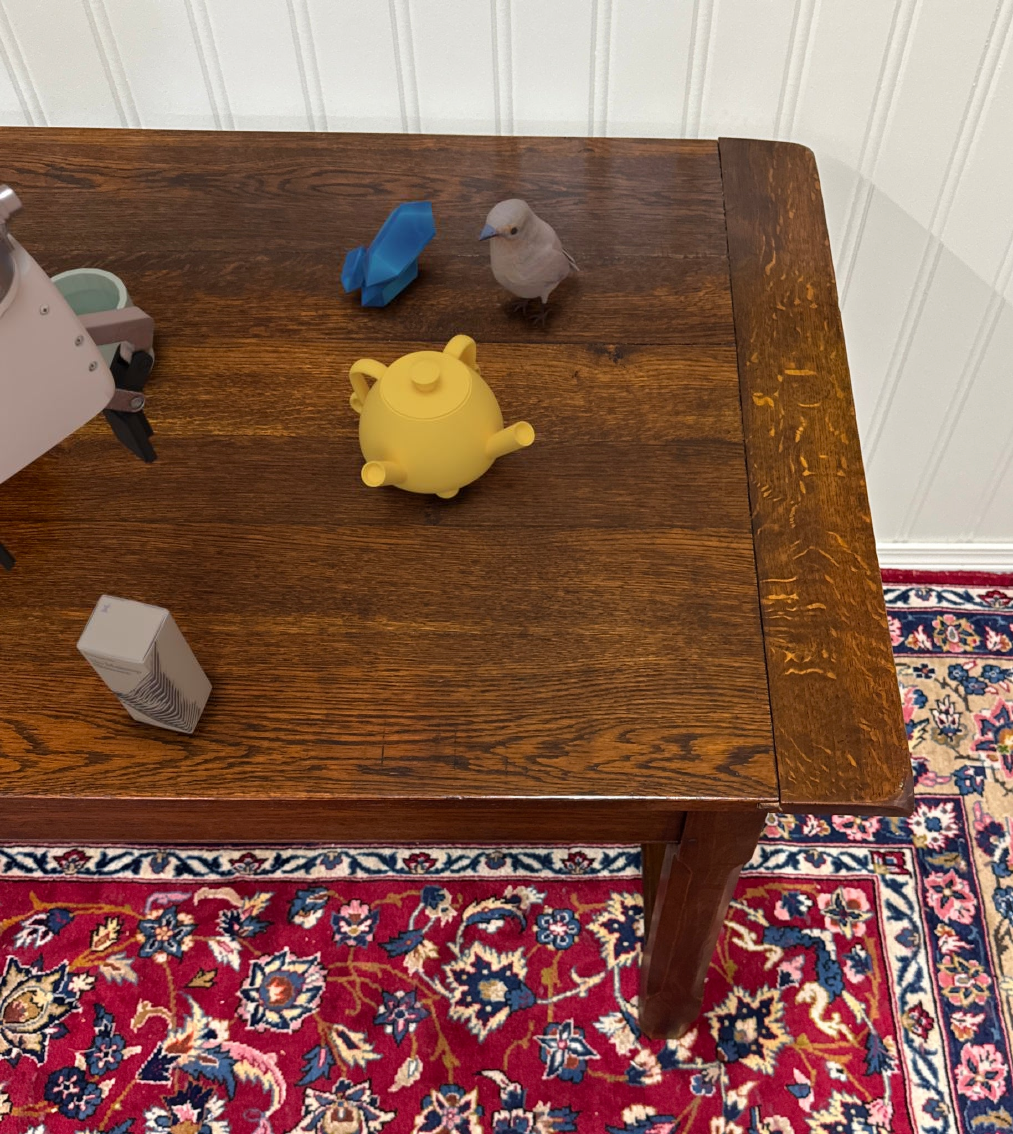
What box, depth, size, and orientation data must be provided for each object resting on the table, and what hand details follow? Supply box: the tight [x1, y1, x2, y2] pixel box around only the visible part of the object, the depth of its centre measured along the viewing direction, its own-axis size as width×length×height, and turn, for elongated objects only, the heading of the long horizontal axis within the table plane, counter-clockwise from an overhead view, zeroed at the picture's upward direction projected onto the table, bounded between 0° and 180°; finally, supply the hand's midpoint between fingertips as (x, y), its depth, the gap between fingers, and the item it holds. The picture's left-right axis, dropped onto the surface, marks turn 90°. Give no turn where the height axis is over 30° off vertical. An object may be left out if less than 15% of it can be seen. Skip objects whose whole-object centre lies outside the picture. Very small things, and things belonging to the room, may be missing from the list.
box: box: [76, 594, 213, 734], centre depth 71 cm, size 5×4×13 cm
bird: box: [477, 198, 581, 329], centre depth 92 cm, size 5×14×15 cm, turn 137°
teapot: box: [348, 334, 536, 499], centre depth 84 cm, size 14×14×11 cm
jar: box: [49, 267, 155, 374], centre depth 92 cm, size 9×9×8 cm
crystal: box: [340, 200, 437, 307], centre depth 97 cm, size 7×9×12 cm
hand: (70, 499), depth 57 cm, fingers open, 9 cm apart
